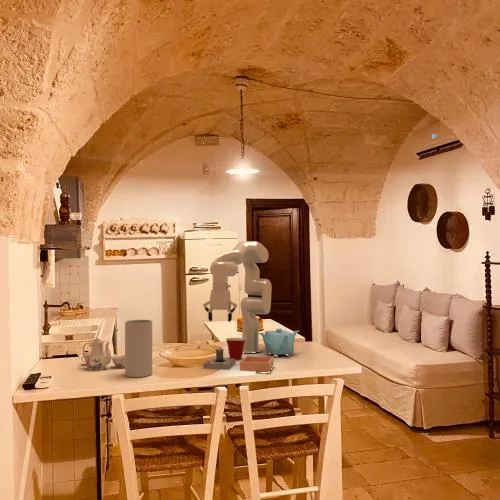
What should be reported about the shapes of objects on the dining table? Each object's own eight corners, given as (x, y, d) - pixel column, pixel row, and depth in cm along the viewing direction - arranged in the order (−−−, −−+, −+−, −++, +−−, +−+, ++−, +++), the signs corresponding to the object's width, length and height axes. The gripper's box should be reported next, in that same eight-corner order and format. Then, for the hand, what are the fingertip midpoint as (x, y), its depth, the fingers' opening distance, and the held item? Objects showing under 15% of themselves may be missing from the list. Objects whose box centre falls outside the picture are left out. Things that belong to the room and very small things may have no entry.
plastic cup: (249, 359, 260) (249, 337, 260) (240, 363, 250) (240, 340, 251) (231, 357, 265) (231, 335, 265) (222, 361, 255) (222, 338, 255)
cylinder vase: (135, 370, 236) (135, 319, 236) (157, 372, 232) (157, 320, 232) (119, 376, 225) (119, 322, 225) (142, 379, 220) (142, 323, 220)
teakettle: (271, 350, 284) (271, 325, 284) (301, 353, 276) (300, 327, 276) (257, 356, 267) (256, 330, 268) (288, 359, 259) (288, 332, 259)
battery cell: (217, 365, 243) (217, 347, 243) (224, 365, 242) (224, 348, 242) (215, 366, 239) (215, 349, 240) (222, 366, 239) (222, 349, 239)
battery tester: (210, 364, 248) (210, 356, 249) (235, 365, 246) (235, 357, 246) (203, 370, 236) (203, 361, 236) (229, 371, 233) (229, 362, 233)
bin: (246, 365, 245) (246, 355, 245) (273, 367, 242) (273, 357, 242) (240, 372, 232) (240, 361, 232) (269, 373, 229) (268, 363, 229)
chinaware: (133, 368, 247) (135, 335, 249) (116, 373, 231) (118, 337, 233) (86, 365, 254) (88, 333, 256) (66, 369, 239) (68, 335, 240)
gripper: (238, 286, 244) (238, 320, 243) (205, 286, 247) (205, 319, 247) (235, 287, 236) (235, 322, 236) (201, 287, 240) (201, 321, 239)
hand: (220, 321), depth 241 cm, fingers open, 9 cm apart
